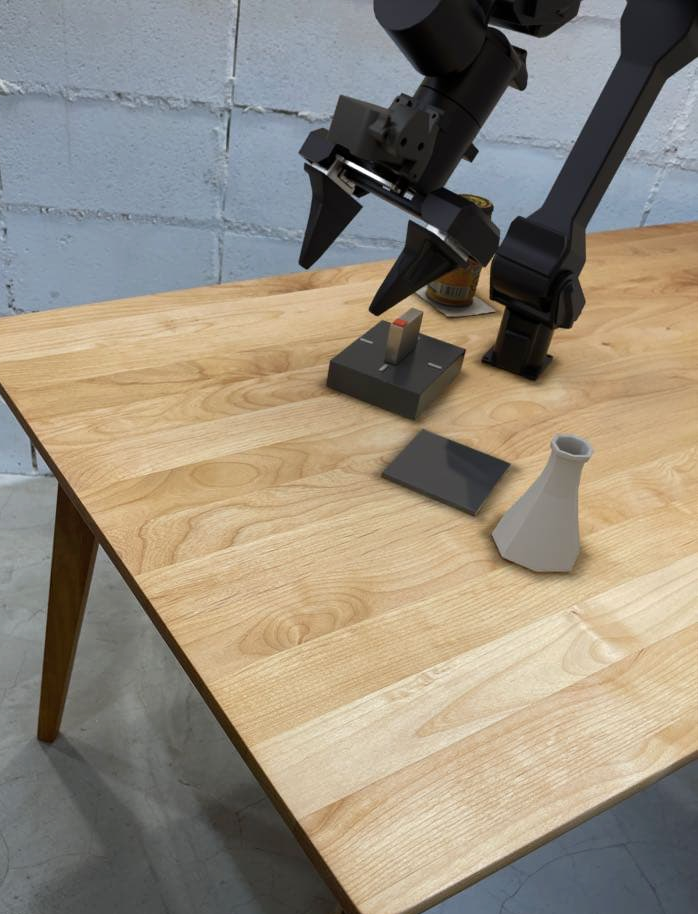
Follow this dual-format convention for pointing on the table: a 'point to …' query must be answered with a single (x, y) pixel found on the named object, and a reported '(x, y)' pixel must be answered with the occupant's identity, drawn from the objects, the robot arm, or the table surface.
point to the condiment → (459, 281)
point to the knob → (403, 336)
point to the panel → (395, 372)
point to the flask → (547, 512)
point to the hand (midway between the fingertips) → (336, 289)
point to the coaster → (447, 471)
